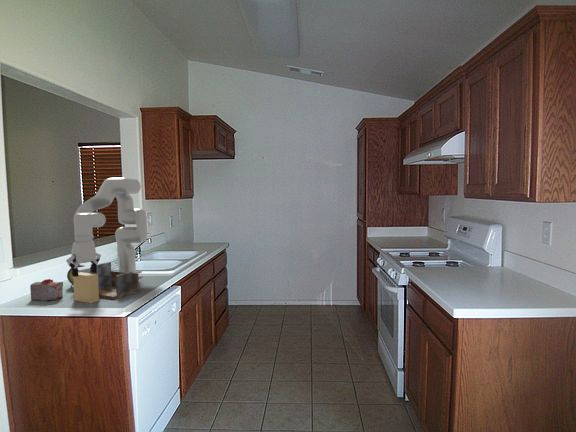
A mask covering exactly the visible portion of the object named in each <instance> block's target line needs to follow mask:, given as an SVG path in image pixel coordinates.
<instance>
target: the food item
mask: <svg viewBox="0 0 576 432" xmlns="http://www.w3.org/2000/svg"><path fill="white" fill-rule="evenodd" d="M63 286H64V282H63V281H54V280H53V279H50V278H49V279H44V280H42V281H35V282H33V283H31V284H30V285H29V287H30V288H29V289H30V301H42V302H44V301H55V300H58V299H61V298H63V295H64V294H63V293H64V292H63V291H64V289H63Z"/></svg>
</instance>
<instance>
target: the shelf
mask: <svg viewBox="0 0 576 432" xmlns="http://www.w3.org/2000/svg"><path fill="white" fill-rule="evenodd" d="M89 267H90V273H91V274H98V289H99V299H100V298H101V299H107V300H113V301H115V300H116V299H120V298H123V297H126V296H130V295H133V294H135V292H136V293H138V291H139V292H140V285H139V278H140V277H139V278H138V276H139V274H137V273H133V272H129V273H128V272H120V271H118V270H112V262H111V261H106V262H100V263H98V264H97V273H92V272H91V266H89ZM132 293H133V294H132Z"/></svg>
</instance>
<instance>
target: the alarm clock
mask: <svg viewBox="0 0 576 432" xmlns="http://www.w3.org/2000/svg"><path fill="white" fill-rule="evenodd" d="M85 266H86V265H84V264H79V265H78V267H77V268H79V267H85ZM66 276H67V277H66V278H67V281H68V282H69V284H71V285H70V288H72V287H74V279H73V276H72V268H71V267H70V269H69V270H68V272H67V274H66Z"/></svg>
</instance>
